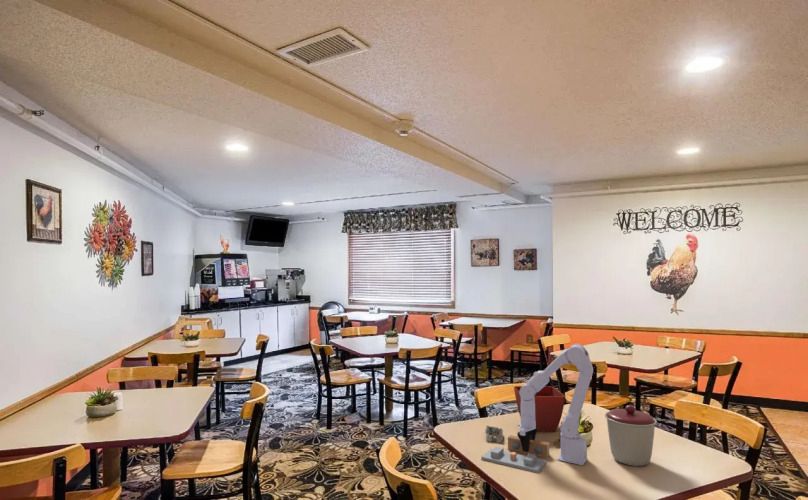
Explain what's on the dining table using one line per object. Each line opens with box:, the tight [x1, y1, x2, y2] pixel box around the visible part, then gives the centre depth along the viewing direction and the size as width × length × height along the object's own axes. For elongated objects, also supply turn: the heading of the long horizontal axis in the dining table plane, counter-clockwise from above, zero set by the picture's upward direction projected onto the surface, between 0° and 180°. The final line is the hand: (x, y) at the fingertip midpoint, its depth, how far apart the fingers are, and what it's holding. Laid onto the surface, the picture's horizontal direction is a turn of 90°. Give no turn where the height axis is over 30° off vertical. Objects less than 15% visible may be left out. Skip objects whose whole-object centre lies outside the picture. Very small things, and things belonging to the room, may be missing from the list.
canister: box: [604, 404, 658, 467], centre depth 180 cm, size 18×18×21 cm
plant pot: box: [513, 385, 566, 433], centre depth 218 cm, size 19×19×17 cm
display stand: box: [480, 446, 547, 474], centre depth 179 cm, size 22×10×3 cm, turn 58°
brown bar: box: [507, 434, 550, 459], centre depth 188 cm, size 16×3×5 cm, turn 58°
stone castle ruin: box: [484, 425, 504, 443], centre depth 205 cm, size 11×8×4 cm
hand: (528, 448), depth 188 cm, fingers open, 6 cm apart
